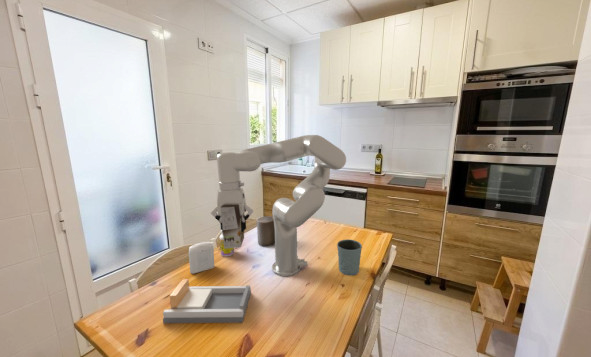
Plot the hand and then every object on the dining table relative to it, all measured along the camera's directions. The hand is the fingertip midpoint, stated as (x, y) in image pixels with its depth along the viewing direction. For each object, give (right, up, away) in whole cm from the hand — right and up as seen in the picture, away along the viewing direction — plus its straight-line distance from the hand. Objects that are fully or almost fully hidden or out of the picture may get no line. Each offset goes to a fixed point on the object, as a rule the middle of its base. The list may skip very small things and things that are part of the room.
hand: (233, 230), depth 92 cm
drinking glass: (+47, -20, +11) cm, 52 cm away
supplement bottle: (-10, -18, +27) cm, 34 cm away
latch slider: (-11, -22, -11) cm, 27 cm away
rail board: (-5, -24, -10) cm, 27 cm away
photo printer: (-17, -20, +13) cm, 30 cm away
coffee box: (0, -5, +1) cm, 5 cm away
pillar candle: (+8, -15, +39) cm, 43 cm away
